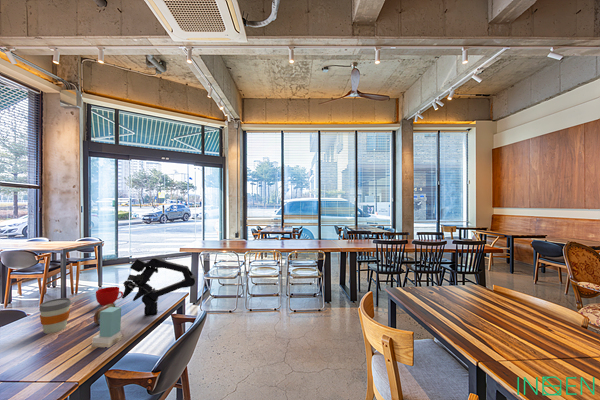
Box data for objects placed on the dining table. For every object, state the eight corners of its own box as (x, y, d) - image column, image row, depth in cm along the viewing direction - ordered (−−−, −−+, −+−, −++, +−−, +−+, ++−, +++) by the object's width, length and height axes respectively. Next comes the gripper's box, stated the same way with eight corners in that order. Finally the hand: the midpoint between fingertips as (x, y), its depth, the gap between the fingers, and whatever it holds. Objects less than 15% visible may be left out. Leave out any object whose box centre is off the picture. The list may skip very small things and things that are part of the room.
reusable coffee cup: (42, 337, 131) (43, 308, 131) (35, 331, 138) (36, 303, 138) (74, 327, 142) (74, 300, 142) (66, 322, 148) (66, 296, 149)
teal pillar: (109, 330, 131) (110, 306, 131) (120, 331, 130) (121, 307, 131) (99, 336, 125) (100, 311, 125) (110, 336, 124) (111, 312, 125)
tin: (98, 326, 143) (98, 311, 143) (92, 326, 143) (92, 311, 143) (116, 315, 158) (116, 301, 158) (111, 315, 158) (111, 301, 158)
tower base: (107, 338, 132) (107, 333, 132) (123, 339, 131) (123, 334, 131) (91, 348, 123) (91, 343, 123) (108, 349, 122) (108, 344, 122)
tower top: (106, 334, 131) (106, 329, 131) (120, 335, 131) (120, 330, 131) (92, 342, 123) (92, 337, 123) (108, 343, 123) (108, 338, 123)
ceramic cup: (115, 308, 168) (115, 293, 168) (90, 308, 168) (90, 293, 168) (129, 300, 181) (129, 286, 181) (105, 300, 181) (105, 286, 181)
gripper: (126, 267, 156) (107, 290, 146) (148, 270, 149) (129, 295, 139) (138, 276, 163) (120, 299, 153) (159, 279, 157) (142, 304, 146)
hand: (127, 299), depth 148 cm, fingers open, 9 cm apart
